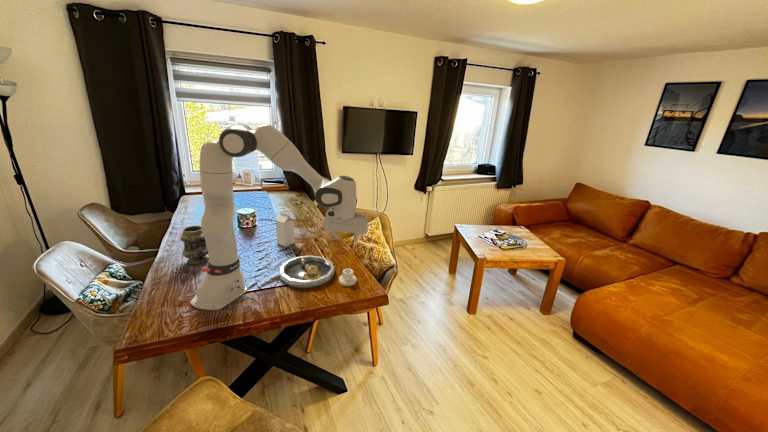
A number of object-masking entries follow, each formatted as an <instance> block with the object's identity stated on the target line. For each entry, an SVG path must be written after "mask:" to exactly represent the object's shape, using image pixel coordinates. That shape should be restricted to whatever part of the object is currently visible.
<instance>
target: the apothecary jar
mask: <svg viewBox="0 0 768 432" xmlns="http://www.w3.org/2000/svg"><path fill="white" fill-rule="evenodd" d="M179 240H180V241H181V242H183V245H184V248H183V250H182V251H181V254H182V256H183V257H184V258H186V259H188V260H187V261H186V265H188V266H190V267H191V266H193V267H194V266H201V265H204V264H206V263H208V262H209V256H208V249H207V244H206V241H205V238H204V235H203V231H202V228H201V225H190V226H186V227H184V228H183V229H182V233H181V234H180V236H179Z"/></svg>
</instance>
